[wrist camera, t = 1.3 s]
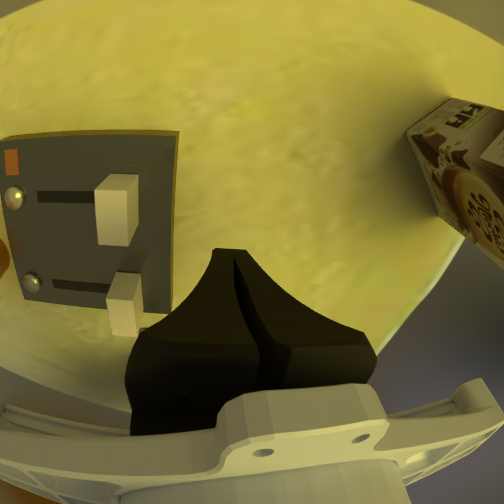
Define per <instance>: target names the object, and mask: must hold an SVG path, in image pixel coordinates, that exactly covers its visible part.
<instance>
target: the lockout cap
mask: <svg viewBox="0 0 504 504" xmlns="http://www.w3.org/2000/svg"><path fill="white" fill-rule="evenodd" d="M9 265H10V256H9V252H8V249H7V247H6V245H5V244H4V242H3V241H2V240H1V239H0V278H1V276H2V275H3V274H4V273H5V271H6V270H7V269H8V267H9Z"/></svg>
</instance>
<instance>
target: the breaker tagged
mask: <svg viewBox="0 0 504 504" xmlns="http://www.w3.org/2000/svg"><path fill="white" fill-rule="evenodd" d="M138 183H139V175H138V174H110V175H109V176H108V177H107V178H106V179H105V180H104V181H103V182H102V183H101V184H100V185H99V186H98V187H97V188H96V189H95V190H94V194H95V211H96V224H97V236H98V245H112V246H129V244H130V242H131V239H132V237H133V235H134V233H135V230H136V228H137V226H138V224H139V215H138Z"/></svg>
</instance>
